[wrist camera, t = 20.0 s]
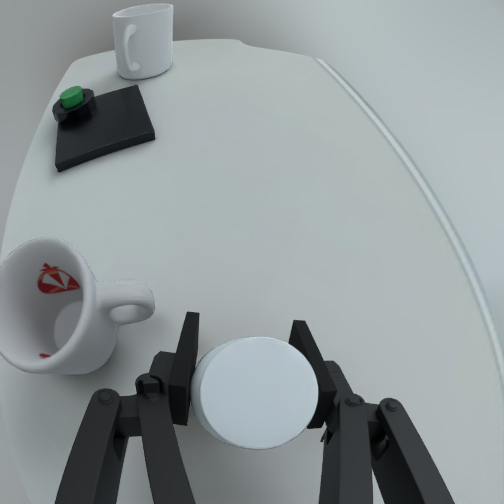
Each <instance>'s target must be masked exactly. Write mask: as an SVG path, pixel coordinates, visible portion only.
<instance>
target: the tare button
mask: <svg viewBox="0 0 504 504" xmlns="http://www.w3.org/2000/svg"><path fill="white" fill-rule="evenodd" d="M83 99H84V97H83V92H82V88H81V87H80V86H75V87H71V88H69V89H67V90H65V91H64V92H63V93H62V94H61V95H60V100H61V103H62V107H63V108H69V107H72V106H75V105H77V104H78V103H80V102H81V101H82V100H83Z"/></svg>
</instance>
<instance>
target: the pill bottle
mask: <svg viewBox="0 0 504 504" xmlns="http://www.w3.org/2000/svg"><path fill="white" fill-rule="evenodd" d="M189 396H190V401H191V406H192V409H193V412H194V414H195V416H196V418H197V420H198V421H199V423H200V424H201V425H202V427H203V428H204V429H205V430H206V431H207V432H209V433H210V434H211V435H212V436H214V437H215V438H217V439H218V440H220V441H222V442H224V443H227V444H230V445H234V446H238V447H242V448H246V449H253V450H264V449H271V448H275V447H278V446H281V445H283V444H285V443H287V442H289V441H291V440H292V439H294V438H295V437H297V436H298V435H299V434H300V433H301V432H302V431H303V430H304V429H305V428H306V427H307V425H308V424H309V422H310V421H311V419H312V417H313V415H314V412H315V410H316V406H317V402H318V384H317V379H316V376H315V373H314V371H313V369H312V367H311V365H310V364H309V362H308V361H307V359H306V358H305V357H304V356H303V355H302V354H301V353H300V352H299V351H298V350H297V349H296V348H294V347H293V346H291V345H289V344H288V343H286V342H283V341H281V340H278V339H275V338H270V337H247V338H242V339H235V340H231V341H228V342H225V343H223V344H221V345H219V346H217V347H215V348H213V349H212V350H211V351H209V352H208V353H207V354H206V355H205V356H204V357H203V358H202V359H201V360H200V362H199V363H198V365H197V367H196V369H195V371H194V373H193V376H192V379H191V383H190V390H189Z"/></svg>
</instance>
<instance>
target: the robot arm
mask: <svg viewBox="0 0 504 504" xmlns="http://www.w3.org/2000/svg"><path fill="white" fill-rule="evenodd" d="M198 332H199V313H195V312H187V313H186V317H185V321H184V324H183V328H182V332H181V335H180V339H179V343H178V347H177V351H176V353H170V352H163V351H160V352H159V353H158V354H157V355H155V356H154V359H153V362H152V365H151V369H150V371H149V373H146V374H142V375H140V376H139V377H138V378H137V379H136V382H135V385H136V391H137V394H135V395H132V396H119V394H118V393H117V392H116V391H114V390H112V389H100V390H98V391H96V392H95V393H94V394H93V395H92V398H91V400H90V402H89V405H88V407H87V410H86V412H85V415H84V417H83V420H82V422H81V425H80V428H79V430H78V433H77V436H76V438H75V441H74V444H73V447H72V450H71V452H70V455H69V458H68V461H67V464H66V467H65V470H64V473H63V476H62V480H61V483H60V486H59V490H58V493H57V497H56V500H55V504H116V502H117V496H118V490H119V484H120V478H121V473H122V468H123V462H124V457H125V453H126V448H127V443H128V439H129V437H133V436H142V442H143V449H144V455H145V461H146V467H147V472H148V478H149V483H150V488H151V492H152V497H153V501H154V504H196V503H195V500H194V497H193V494H192V491H191V488H190V485H189V481H188V478H187V475H186V471H185V468H184V465H183V461H182V457H181V454H180V450H179V446H178V442H177V438H176V434H175V430H174V426H173V424H176V425H184V426H187V423H188V415H189V407H190V396H189V390H190V383H191V379H192V376H193V373H194V371H195V364H196V358H197V351H198ZM288 344H289V345H291V346H293V347H294V348H296V349H297V350H298V351H299V352H300V353H301V354H302V355H303V356H304V357H305V358H306V359H307V361H308V362H309V364H310V365H311V367H312V369H313V371H314V373H315V376H316V379H317V384H318V402H317V406H316V410H315V412H314V415H313V417H312V419H311V421H310V422H309V424H308V425H307V429H313V428H322V426H323V424H324V421H325V423H326V425H327V428H326V430H325V432H324V434H323V436H322V438H321V441H320V442H323V440H324V450H323V463H322V475H321V485H320V495H319V504H373V485H372V469H373V472H374V475H375V478H376V481H377V483H378V486H379V489H380V492H381V495H382V498H383V500H384V503H385V504H455V503H454V501H453V499H452V497H451V495H450V493H449V491H448V489H447V487H446V485H445V483H444V481H443V479H442V477H441V475H440V473H439V471H438V469H437V467H436V465H435V463H434V461H433V459H432V458H431V456H430V454H429V452H428V450H427V448H426V446H425V445H424V443H423V441H422V439H421V437H420V435H419V434H418V432H417V430H416V428H415V426H414V425H413V423H412V421H411V419H410V418H409V416H408V414H407V412H406V411H405V409H404V407H403V405H402V404H401V403H400V402H399V401H397V400H396V399H393V398H385V399H383V400H382V401H381V402H380V404H379V405H378V404H370V403H365V401H364V399H363V398H362V397H361V396H359V395H357V394H353V392H352V390H351V388H350V386H349V384H348V382H347V380H346V378H345V376H344V374H343V373H342V370H341V368H340V367H339V365H337V364H336V363H335V362H334V361H324V360H323V358H322V356H321V353H320V351H319V349H318V347H317V345H316V343H315V341H314V339H313V336H312V334H311V332H310V330H309V328H308V326H307V324H306V322H305V321H302V320H293V325H292V329H291V334H290V339H289V343H288Z"/></svg>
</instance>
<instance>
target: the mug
mask: <svg viewBox="0 0 504 504" xmlns="http://www.w3.org/2000/svg"><path fill="white" fill-rule="evenodd" d="M112 17H113V32H114V42H115V53H116V62H117V70H118V73H119V75H120V76H122V77H124V78H126V79H132V80H138V79H146V78H150V77H154V76H157V75H159V74H162V73H163V72H165V71H166V70H167V69H168V68H170V67H171V64H172V28H173V5H171V4H160V3H159V4H146V5H140V6H135V7H130V8H127V9H123V10H121V11H118V12H116V13H115V14H113V16H112Z"/></svg>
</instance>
